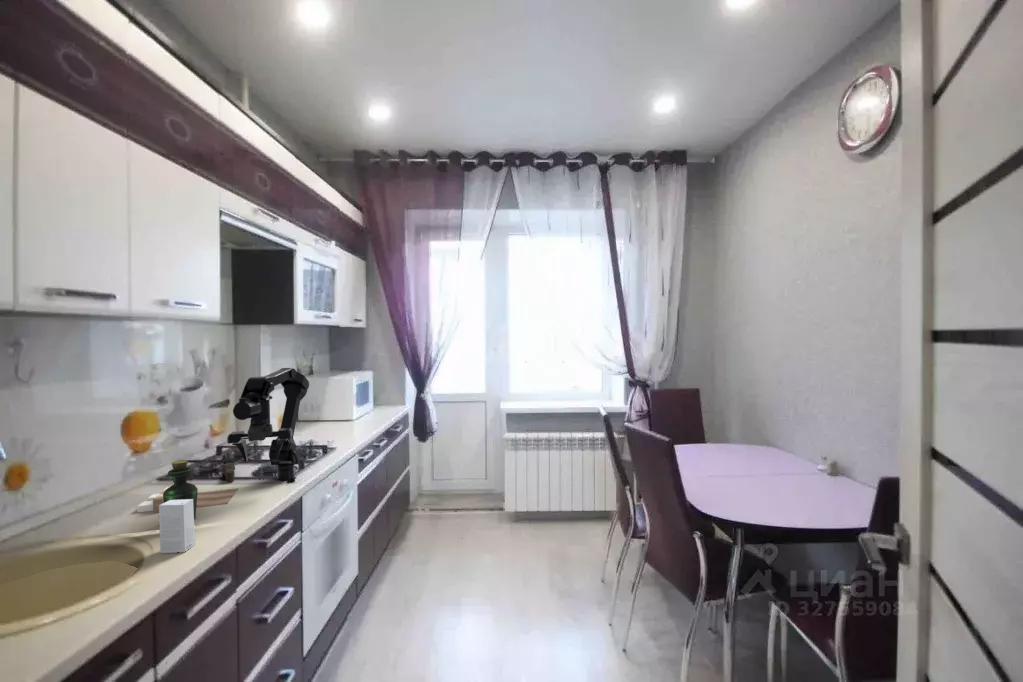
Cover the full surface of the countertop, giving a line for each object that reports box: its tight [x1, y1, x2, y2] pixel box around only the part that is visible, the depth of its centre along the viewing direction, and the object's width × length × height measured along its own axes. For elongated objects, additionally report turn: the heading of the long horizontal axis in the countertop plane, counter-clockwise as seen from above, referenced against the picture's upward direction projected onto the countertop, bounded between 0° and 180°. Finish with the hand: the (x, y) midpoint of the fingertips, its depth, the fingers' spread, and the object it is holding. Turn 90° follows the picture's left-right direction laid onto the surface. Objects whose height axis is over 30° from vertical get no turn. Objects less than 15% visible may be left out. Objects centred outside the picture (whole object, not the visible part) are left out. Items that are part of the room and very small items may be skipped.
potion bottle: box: [163, 459, 199, 521], centre depth 133 cm, size 8×8×18 cm
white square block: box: [136, 500, 153, 513], centre depth 143 cm, size 4×4×3 cm
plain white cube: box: [147, 492, 161, 501], centre depth 151 cm, size 4×4×3 cm
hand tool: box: [222, 463, 236, 484], centre depth 176 cm, size 19×4×5 cm, turn 30°
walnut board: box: [196, 488, 239, 509], centre depth 152 cm, size 16×14×1 cm
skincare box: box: [158, 499, 196, 554], centre depth 118 cm, size 6×4×12 cm
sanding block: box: [152, 484, 173, 513], centre depth 148 cm, size 14×4×5 cm, turn 20°
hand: (261, 460), depth 157 cm, fingers open, 9 cm apart
